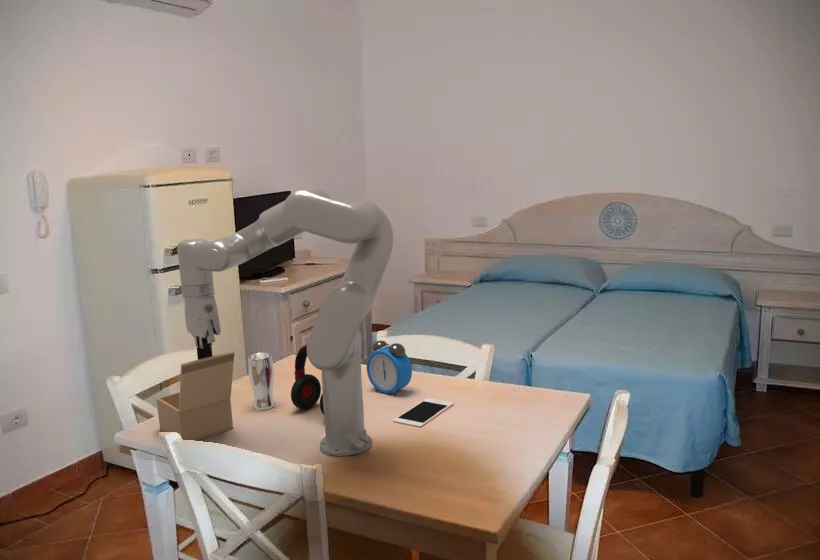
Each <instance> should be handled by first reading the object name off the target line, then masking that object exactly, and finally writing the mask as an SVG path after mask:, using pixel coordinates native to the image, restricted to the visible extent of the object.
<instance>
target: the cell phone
mask: <svg viewBox="0 0 820 560" xmlns="http://www.w3.org/2000/svg"><path fill="white" fill-rule="evenodd" d="M453 406H454V402H452V401H446V400H440V399H435V398H430V397H429V398H428V397H427V398H424V399H423V400H422V401H420V402H418V403H416V404H415V405H414V406H413V407H411V408H409V409H408V410H405V412H403V413H402V414H400V415H398V416H396V417H395V418H393V419H392V422H393V423H395V424H399V425H405V426H409V427H415V428H422V427H424V426H425V425H427V424H428V423H431V422H432V421H433V420H434V419H435V418H437V417H439V416H440V415H442V414H443V413H444V412H446V411H447V410H449V409H450V408H452V407H453Z"/></svg>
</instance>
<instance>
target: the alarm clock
mask: <svg viewBox="0 0 820 560" xmlns="http://www.w3.org/2000/svg"><path fill="white" fill-rule="evenodd" d="M371 351H372V352H371V354H370V355H369V356H368V358H367V361H366V373H367V377H368V379H369V382H370V384H371V385H372V386H373V387H374V388H375V389H376V392H381V393H382V394H383V393H384V394H393V396H396V393H395V392H397V391H399V390H401V389H404V388H405V387H407V386H408V385H409V383H410V382H411V379H412V376H413V375H412V374H413V368H412V364H411V361H410V358H409V356H408V355H407V354H406V348H405V347H404V346H403V345H402V344H401V343H397V342H395V343H392V344H390V343H387V342H386V341H385V340H376V341H375V342H374V343H373V344H372V345H371Z"/></svg>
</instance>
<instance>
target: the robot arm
mask: <svg viewBox="0 0 820 560" xmlns="http://www.w3.org/2000/svg"><path fill="white" fill-rule="evenodd" d="M305 232H306V233H308V234H309V233H310V234H312V235H316V236H318V237H319V236H320V237H323V238H325V239H329V240H331V241H332V240H333V241H335V242H339V243H342V244H348V245H352V244H355V247H354V250H353V251H352V254H351V257H350V258H349V261H348V263H347V267H346V270H345V272H344V274H343V276H342V279H341V281H340V282H339V283H338V285H336V286H335V287H334V288H332V289H331V290H330V291H329V292H328V293H327V294H326V295H325V298H324V299H323V301H322V303H321V305H320V308H319V311H318V313H317V316H316V318H315V322H314V324H313V326H312V329H311V332H310V334H309V337H308V340H307V344H306V345H307V358H308V361H309V362H310V364H311V365H312V366H313V367H314V368H315V369H317V370H319V371H321V373H320V375H321V394H322V393H323V406H324V415H323V417H324V430H325V436H324V437H323V438H322V439H321V440H320V442H319V447H320V450H321V451H322V452H323V453H325V454H327V455H330V456H335V457H345V456H353V455H357V454H358V455H359V454H360V453H363V452H366V451H367V450H368V449H369V448H371V446H372V444H373V440H372V439H373V438H372V437H371V436H370V434H369V433H368V432H367V429H366V428H365V414H364V399H363V398H364V397H363V379H362V377H363V376H362V351H363V350H362V347H363V345H362V343H363V340H362V333H361V331H360V329H359V327H360V325H361V322H362V321H363V320H364V319H365V318H366V317H367V316H368V314H369V313H370V312H371V311H372V308H373V306H374V301H375V298H376V297H377V293H378V291H379V288H380V286H381V283H382V280H383V278H384V274H385V273H386V269H387V266H388V264H389V261H390V258H391V255H392V251H393V246H394V231H393V227H392V224H391V221H390V219H389V218H388V216H387V214H386V213H385V211H384V210H383V209H382V208H380V207H379V206H378V205H377V204H375V203H373V202H371V201H367V200H361V201H355V202H352V203H344V202H341V201H337V200H334V199H331V197H330V195H329V194H328V192H327V191H325V190H323V188H320V187H307V188H306V187H305V188H303V189H302V188H301V189H298V190H296V191H293V192H292V193H290V194H288V196H287V197H286V199H285V200H283V201H282V202H279V203H277V204H276V205H273V206H272V207H270V208H268V209H266V210H264V211H263V212H261V213H260V214H259V217H258V219H257V220H256V221H255V222H253V223H251V224H250V225H248V226H246V227H244V228H242V229H240V230H239V231H237V232H235V233H233V234H231V235H227V236H223V237H221V238H218V239H215V240H210V241H208V240H206V239H205V238H204V239H203V238H192V239H185V240H182V241H179V242H178V244H177V246H176V247H177V248H176V249H177V251H176V252H177V258H178V267H179V276H180V287H181V294H182V296H181V297H182V299H184V317H185V327H186V330H187V332H188V333H189V334H191V336H192V337H193V339H194V343H195V348H196V356H197V360H199V359H203V358H207V357H211V356H213V349H212V347H213V343H215V342H216V338H215V335H216V336H219V335H221V323H220V316H219V310H218V306H217V305H218V304H217V301H216V298H215V286H214V285H215V284H214V275H213V274H214V273H213V272H216V273H218V272H219V273H220V272H225V271H227V270H229V269H233V268H234V267H237V266H240V265H242V264H244V263H246V262H248V261H249V260H252V259H253V258H256V257H257V256H259V255H261V254H263V253H264V252H267V251H269V250H270V249H272V248H275V247H279V246H280V245H282V244H284V243H287V242H288V241H290V240H291V239H294V238H295V237H297V236H299V235H301V234H303V233H305Z"/></svg>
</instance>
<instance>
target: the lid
mask: <svg viewBox="0 0 820 560" xmlns="http://www.w3.org/2000/svg"><path fill="white" fill-rule="evenodd" d="M234 360H235V351H234V350H232V351H227V352H224V353H219V354H216V355H212V356H211V357H207V358H203V359H199V360H198V359H195V360H192V361H187V362H184V363H180V375H179V376H180V380H179V392H180V399H179V412H184V411H187V410H190V409H194V408H197V407H200V406H204V405H207V404H210V403H214V402H217V401H221V400H224V399H227V398H230V399H231V396H232V384H233V373H234Z"/></svg>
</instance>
